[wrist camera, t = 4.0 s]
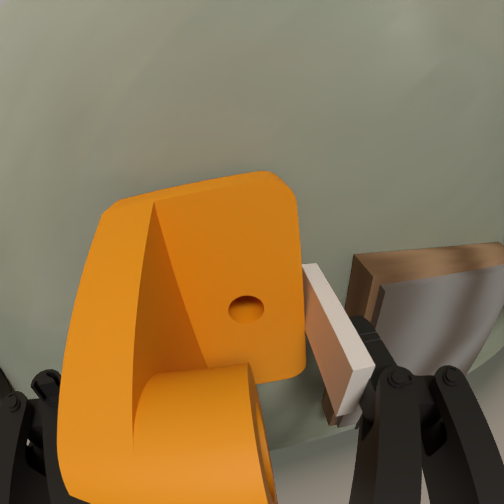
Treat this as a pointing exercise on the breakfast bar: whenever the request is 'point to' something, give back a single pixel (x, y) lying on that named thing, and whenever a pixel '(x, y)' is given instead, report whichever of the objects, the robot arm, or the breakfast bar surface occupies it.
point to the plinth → (427, 306)
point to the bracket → (182, 344)
